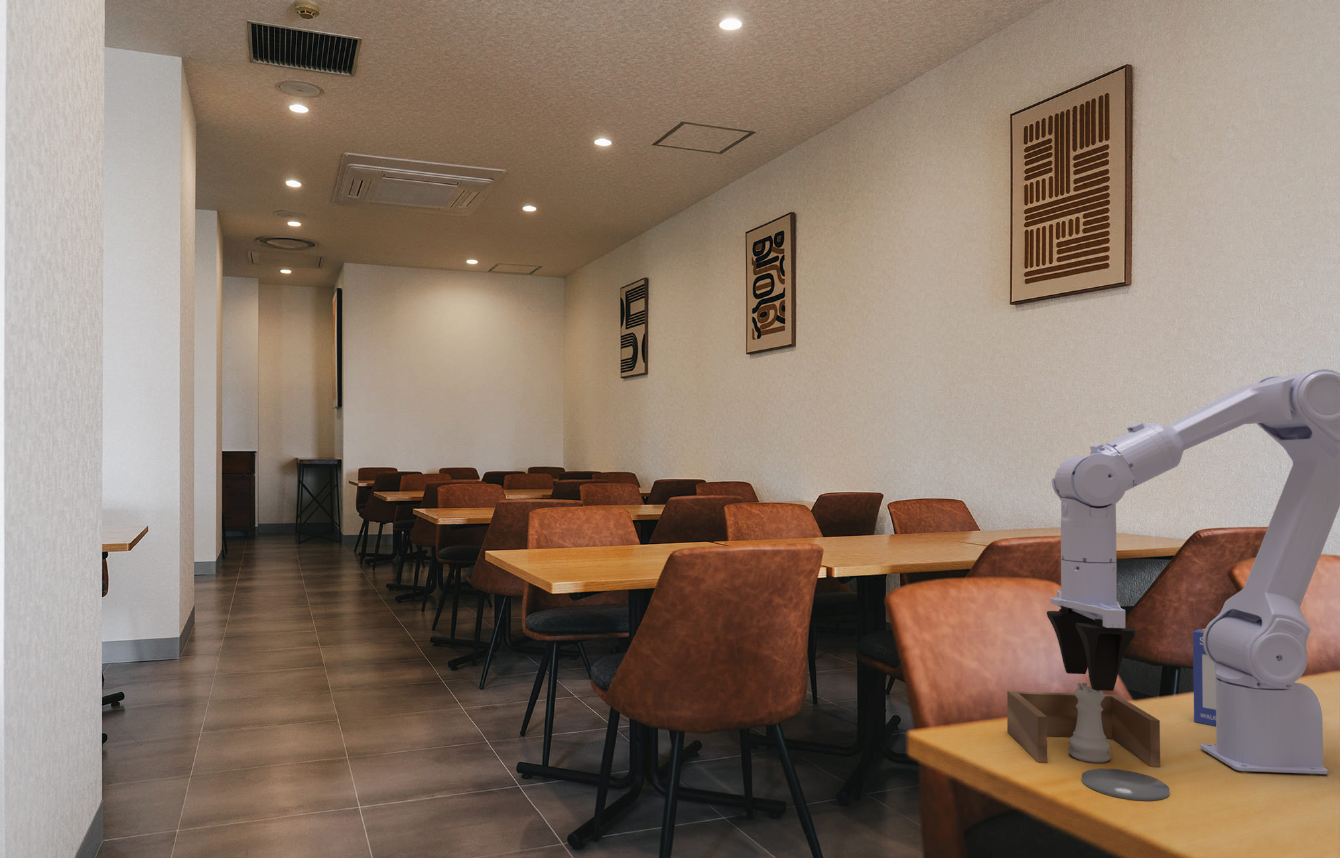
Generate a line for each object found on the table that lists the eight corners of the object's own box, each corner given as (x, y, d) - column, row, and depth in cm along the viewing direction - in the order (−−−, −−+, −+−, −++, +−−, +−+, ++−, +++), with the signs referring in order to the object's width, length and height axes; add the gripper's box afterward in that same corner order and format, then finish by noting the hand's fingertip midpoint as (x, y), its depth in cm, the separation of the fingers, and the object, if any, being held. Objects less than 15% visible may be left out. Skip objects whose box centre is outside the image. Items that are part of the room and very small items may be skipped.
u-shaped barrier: (1117, 736, 107) (1116, 694, 107) (1160, 766, 96) (1159, 720, 96) (1007, 732, 108) (1007, 691, 108) (1037, 762, 97) (1037, 716, 97)
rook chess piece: (1116, 765, 97) (1116, 691, 97) (1073, 762, 97) (1072, 689, 98) (1105, 752, 101) (1104, 682, 101) (1063, 749, 102) (1063, 679, 102)
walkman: (1193, 722, 114) (1192, 628, 114) (1200, 718, 116) (1199, 626, 116) (1265, 736, 108) (1264, 637, 108) (1271, 731, 110) (1269, 635, 110)
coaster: (1147, 773, 94) (1147, 770, 94) (1185, 802, 86) (1185, 798, 86) (1069, 770, 95) (1069, 767, 95) (1100, 799, 87) (1100, 794, 87)
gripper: (1030, 553, 108) (1030, 665, 107) (1076, 566, 93) (1076, 696, 93) (1090, 554, 107) (1090, 667, 107) (1145, 568, 93) (1146, 699, 92)
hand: (1088, 681), depth 100 cm, fingers open, 7 cm apart
